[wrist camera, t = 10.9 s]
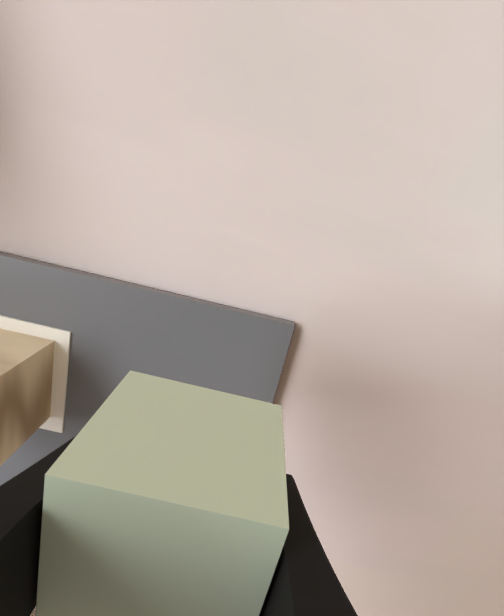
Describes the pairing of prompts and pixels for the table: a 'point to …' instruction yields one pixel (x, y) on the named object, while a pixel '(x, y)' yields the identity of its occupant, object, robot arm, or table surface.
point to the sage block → (165, 506)
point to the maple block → (23, 387)
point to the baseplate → (129, 343)
